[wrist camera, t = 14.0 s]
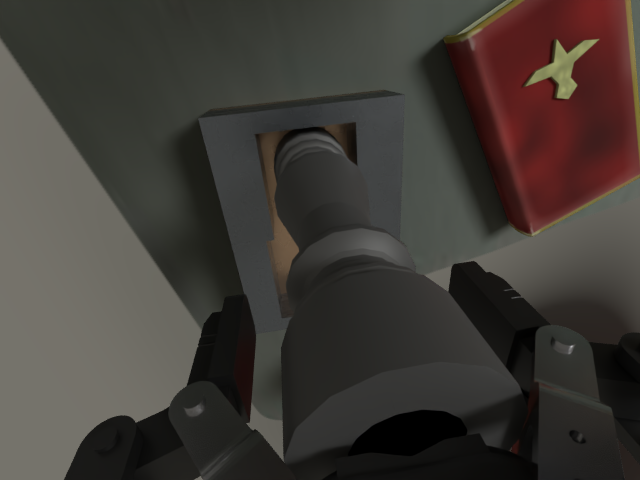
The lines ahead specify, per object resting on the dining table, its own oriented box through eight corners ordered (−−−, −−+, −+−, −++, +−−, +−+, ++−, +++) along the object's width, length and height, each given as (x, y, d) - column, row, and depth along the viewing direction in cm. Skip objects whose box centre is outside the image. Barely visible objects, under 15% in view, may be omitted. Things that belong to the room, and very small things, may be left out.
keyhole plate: (384, 89, 28) (404, 94, 24) (383, 283, 38) (397, 311, 34) (210, 109, 27) (198, 118, 23) (257, 302, 37) (254, 333, 33)
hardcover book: (505, 222, 37) (530, 240, 33) (438, 39, 27) (464, 36, 23) (608, 163, 35) (647, 175, 31) (576, -57, 25) (628, -77, 21)
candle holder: (323, 203, 31) (433, 521, 10) (263, 177, 29) (230, 503, 8) (354, 144, 29) (595, 390, 7) (291, 112, 27) (361, 314, 5)
